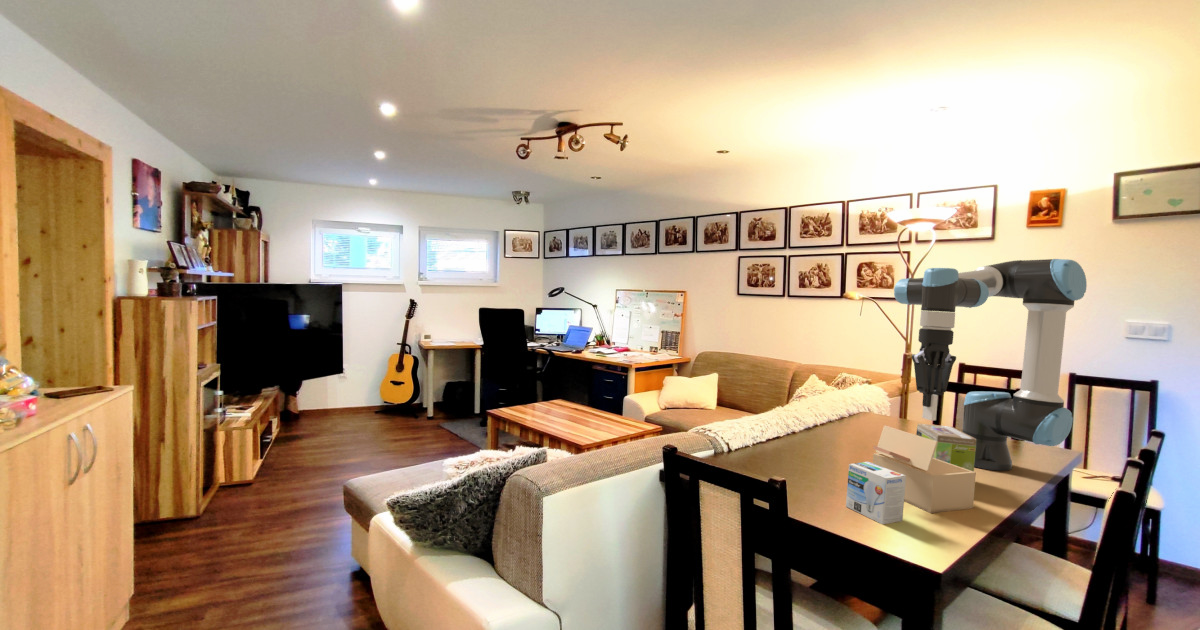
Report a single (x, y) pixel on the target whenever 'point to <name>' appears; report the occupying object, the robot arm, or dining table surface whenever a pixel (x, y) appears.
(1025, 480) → the dining table surface
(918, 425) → the tea box
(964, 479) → the carton
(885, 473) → the light bulb box
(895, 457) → the flap
